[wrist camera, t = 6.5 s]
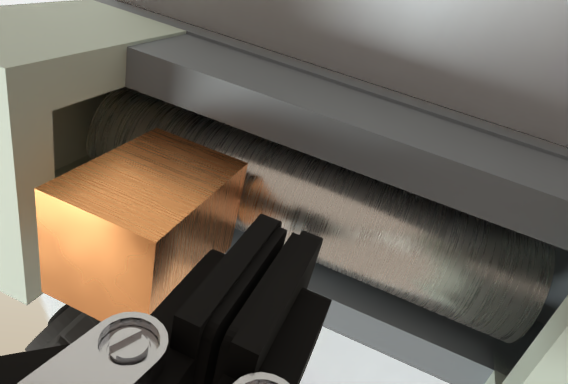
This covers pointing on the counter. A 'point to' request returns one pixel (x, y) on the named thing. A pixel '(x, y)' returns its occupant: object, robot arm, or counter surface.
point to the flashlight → (63, 328)
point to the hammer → (269, 201)
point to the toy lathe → (294, 134)
